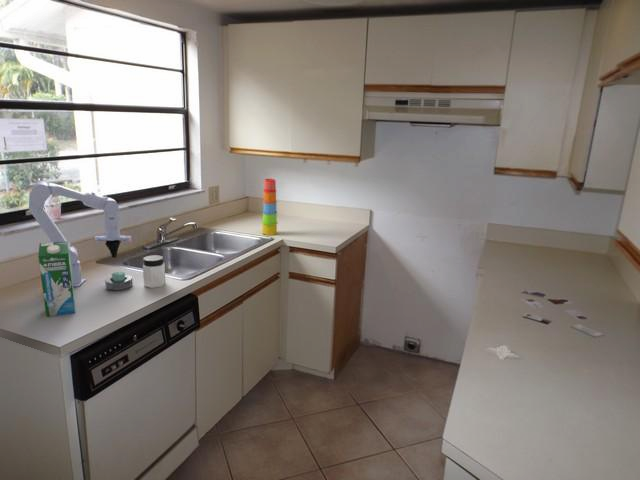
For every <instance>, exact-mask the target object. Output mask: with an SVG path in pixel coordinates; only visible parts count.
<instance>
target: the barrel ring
mask: <svg viewBox="0 0 640 480" xmlns="http://www.w3.org/2000/svg"><path fill="white" fill-rule="evenodd" d="M104 282H105V288H106V290H108V291H111V292H121V291H125V290H129V289H131V288H132V287H133V277H132V276H131V275H128V274H125V280H124V281H119V282H114V281H112V275H110V276H109V277H107V278H106V279H105V280H104Z"/></svg>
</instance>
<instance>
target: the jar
mask: <svg viewBox="0 0 640 480" xmlns="http://www.w3.org/2000/svg"><path fill="white" fill-rule="evenodd" d="M142 259H143V260H142V262H143V264H142V276H143V286H144V287H147V288H150V289H153V288H154V289H155V288H160V287H164V285H165V284H166V282H167V281H166V267H165V265H166V263H165V261H164V256H163V255H157V254H154V255H153V254H152V255H147V256H145V257H143V258H142Z"/></svg>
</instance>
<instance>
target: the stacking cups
mask: <svg viewBox="0 0 640 480" xmlns="http://www.w3.org/2000/svg"><path fill="white" fill-rule="evenodd" d="M276 183H277V182H276V179H274V178H265V179H264V181H263V200H262V202H263V210H262V215H263V216H262V221H261V224H262V231H261V234H262V232H263V233H264V234H266V235H265V236H276V235H278V234H279V233H278V231H277V230H278V229H277V227H278V225H277V224H278V223H279V222H278V221H277V220H278V219H277V217H278V216H277V215H278V211H277V202H278V201H277V187H276ZM275 234H276V235H275Z"/></svg>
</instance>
